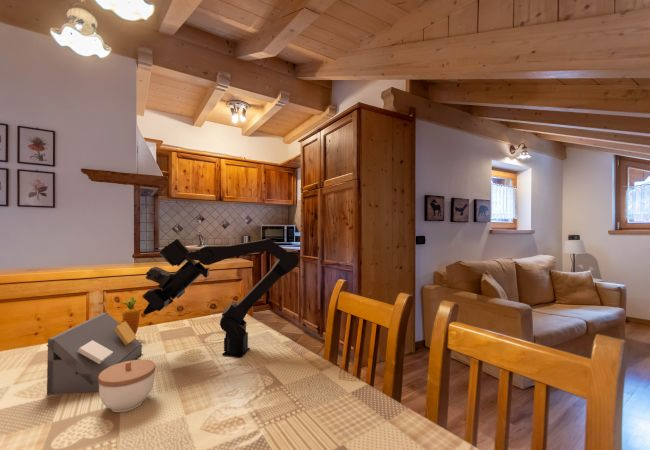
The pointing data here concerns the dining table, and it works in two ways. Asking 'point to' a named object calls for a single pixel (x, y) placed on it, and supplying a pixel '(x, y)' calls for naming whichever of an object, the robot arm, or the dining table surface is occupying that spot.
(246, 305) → the robot arm
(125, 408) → the lidded jar
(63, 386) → the switch console
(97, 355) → the block
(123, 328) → the block
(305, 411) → the dining table surface
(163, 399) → the dining table surface
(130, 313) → the carrot
